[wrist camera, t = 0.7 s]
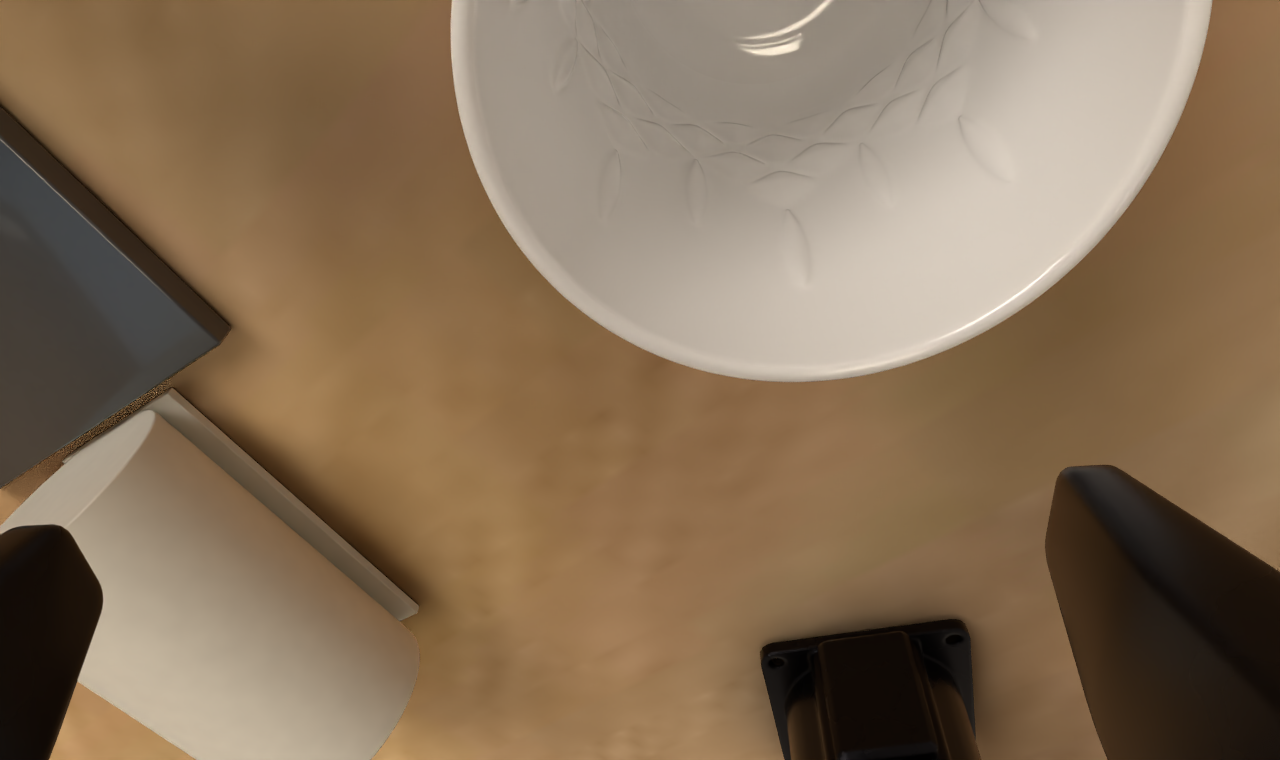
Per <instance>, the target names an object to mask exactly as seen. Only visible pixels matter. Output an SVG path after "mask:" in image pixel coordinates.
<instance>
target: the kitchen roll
mask: <svg viewBox="0 0 1280 760" xmlns="http://www.w3.org/2000/svg"><path fill="white" fill-rule="evenodd" d="M63 463H64V465H63V466H62V467H61V468H60V469H59V470H58V471H56V472H55V473H54V474H53V475H52V476H51V477H50V478H49V479H48V480H46V481H45V482H44V483H43V484H42V485H41V486H40V487H39V488H38V489H37V490H36V491H35V492H34V493H33V494H32V495H31V496H29V497H28V498H27V499H26V500H25V501H24V502H23V503H22V504H21V505H20V506H19V507H18V508H17V509H16V510H15V511H14V513H13V514H12V515H11V516H10V517H9V518H8V519H7V520H6V521H5V522H4V523H3V524H2V525H1V526H0V534H2V533H4V532H5V531H7V530H9V529H11V528H15V527H19V526H27V525H45V524H55V525H59V526H62V527H63V528H65V529H66V530H68V531H69V532H70V533H71V535H72V536H73V538H74V539H75V541H76V543H77V545H78V546H79V548H80V550H81V551H82V553H83V555H84V556H85V558H86V560H87V562H88V563H89V565H90V567H91V568H92V570H93V572H94V573H95V575H96V577H97V579H98V580H99V582H100V584H101V587H102V591H103V608H102V612H101V615H100V618H99V621H98V624H97V627H96V629H95V632H94V635H93V638H92V641H91V644H90V646H89V649H88V652H87V655H86V658H85V661H84V663H83V666H82V669H81V672H80V675H79V678H78V680H77V681H78V682H79V683H81V684H82V685H84V686H85V687H87V688H88V689H90V690H91V691H93V692H94V693H96V694H97V695H99V696H100V697H102V698H103V699H105V700H106V701H108V702H110V703H111V704H113V705H114V706H116V707H117V708H119V709H120V710H122V711H123V712H125V713H126V714H128V715H129V716H131V717H132V718H134V719H135V720H137V721H138V722H140V723H141V724H143V725H145V726H146V727H148V728H149V729H151V730H152V731H154V732H155V733H157V734H158V735H160V736H161V737H163V738H164V739H166V740H167V741H169V742H170V743H172V744H173V745H175V746H176V747H178V748H179V749H181V750H183V751H184V752H186V753H187V754H189V755H190V756H192V757H193V758H195V759H196V760H371V759H372V758H373V757H374V756H375V754H376V753H377V752H378V750H379V749H380V748H381V747H382V745H383V744H384V743H385V741H386V740H387V738H388V737H389V735H390V734H391V733H392V731H393V730H394V728H395V726H396V725H397V723H398V721H399V719H400V718H401V716H402V714H403V712H404V710H405V708H406V706H407V704H408V702H409V699H410V697H411V694H412V692H413V689H414V686H415V683H416V680H417V675H418V670H419V662H420V653H419V646H418V642H417V640H416V638H415V636H414V635H413V633H412V632H411V631H410V630H409V629H408V628H406V627H405V626H404V625H403V624H402V623H401V622H399V621H401V620H403V619H406V618H408V617H410V616H412V615H414V614H416V613H417V612H418V609H419V606H418V605H417V604H416V603H415V602H414V601H413V600H412V599H411V598H409V597H408V596H407V595H406V594H405V593H404V592H403V591H402V590H400V589H399V588H398V587H397V586H396V585H395V584H394V583H392V582H391V581H390V580H389V579H388V578H387V577H386V576H385V575H383V574H382V573H381V572H380V571H379V570H378V569H377V568H376V567H374V566H373V565H372V564H371V563H370V562H369V561H368V560H366V559H365V558H364V557H363V556H362V555H361V554H360V553H359V552H357V551H356V550H355V549H354V548H353V547H352V546H351V545H350V544H348V543H347V542H346V541H345V540H344V539H343V538H342V537H340V536H339V535H338V534H337V533H336V532H335V531H334V530H333V529H331V528H330V527H329V526H328V525H327V524H326V523H325V522H324V521H322V520H321V519H320V518H319V517H318V516H317V515H316V514H314V513H313V512H312V511H311V510H310V509H309V508H308V507H307V506H305V505H304V504H303V503H302V502H301V501H300V500H299V499H298V498H296V497H295V496H294V495H293V494H292V493H291V492H290V491H288V490H287V489H286V488H285V487H284V486H283V485H282V484H281V483H279V482H278V481H277V480H276V479H275V478H274V477H273V476H272V475H270V474H269V473H268V472H267V471H266V470H265V469H264V468H262V467H261V466H260V465H259V464H258V463H257V462H256V461H255V460H253V459H252V458H251V457H250V456H249V455H248V454H247V453H246V452H244V451H243V450H242V449H241V448H240V447H239V446H238V445H236V444H235V443H234V442H233V441H232V440H231V439H230V438H229V437H227V436H226V435H225V434H224V433H223V432H222V431H221V430H220V429H218V428H217V427H216V426H215V425H214V424H213V423H212V422H210V421H209V420H208V419H207V418H206V417H205V416H204V415H203V414H201V413H200V412H199V411H198V410H197V409H196V408H195V407H194V406H192V405H191V404H190V403H189V402H188V401H187V400H186V399H184V398H183V397H182V396H181V395H180V394H179V393H178V392H177V391H175V390H174V389H173V388H170V389H169V390H167V391H165V392H164V393H162V394H161V395H159V396H158V397H156V398H155V399H153V400H152V401H150V402H149V403H147V404H145V405H144V406H142V407H141V408H139V409H138V410H136V411H135V412H133V413H132V414H130V415H129V416H127V417H125V418H124V419H122V420H121V421H119V422H118V423H116V424H115V425H113V426H112V427H110V428H109V429H107V430H105V431H104V432H102V433H101V434H99V435H98V436H96V437H95V438H93V439H92V440H90V441H89V442H87V443H85V444H84V445H82V446H81V447H79V448H78V449H76V450H75V451H73V452H72V453H70V454H69V455H67V456H66V457H65V459H64V460H63Z"/></svg>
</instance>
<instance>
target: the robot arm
mask: <svg viewBox="0 0 1280 760" xmlns="http://www.w3.org/2000/svg"><path fill="white" fill-rule="evenodd" d="M1045 551H1046V559H1047V564H1048V568H1049V572H1050V575H1051V579H1052V582H1053V586H1054V589H1055V593H1056V596H1057V600H1058V603H1059V607H1060V610H1061V614H1062V617H1063V620H1064V624H1065V627H1066V631H1067V634H1068V638H1069V641H1070V645H1071V648H1072V652H1073V655H1074V659H1075V662H1076V666H1077V669H1078V673H1079V676H1080V680H1081V683H1082V687H1083V690H1084V694H1085V697H1086V700H1087V704H1088V707H1089V710H1090V713H1091V716H1092V720H1093V723H1094V726H1095V728H1096V731H1097V734H1098V736H1099V739H1100V741H1101V744H1102V747H1103V749H1104V752H1105V754H1106V757H1107V759H1108V760H1280V572H1279V571H1278V570H1276V569H1274V568H1273V567H1271V566H1270V565H1268V564H1267V563H1265V562H1264V561H1262V560H1260V559H1259V558H1257V557H1256V556H1254V555H1253V554H1251V553H1250V552H1248V551H1246V550H1245V549H1243V548H1242V547H1240V546H1239V545H1237V544H1236V543H1234V542H1233V541H1231V540H1229V539H1228V538H1226V537H1225V536H1223V535H1222V534H1220V533H1219V532H1217V531H1215V530H1214V529H1212V528H1211V527H1209V526H1208V525H1206V524H1205V523H1203V522H1201V521H1200V520H1198V519H1197V518H1195V517H1194V516H1192V515H1191V514H1189V513H1187V512H1186V511H1184V510H1183V509H1181V508H1180V507H1178V506H1177V505H1175V504H1173V503H1172V502H1170V501H1169V500H1167V499H1166V498H1164V497H1163V496H1161V495H1159V494H1158V493H1156V492H1155V491H1153V490H1152V489H1150V488H1149V487H1147V486H1145V485H1144V484H1142V483H1141V482H1139V481H1138V480H1136V479H1135V478H1133V477H1131V476H1130V475H1128V474H1127V473H1125V472H1124V471H1122V470H1120V469H1118V468H1117V467H1114V466H1111V465H1090V466H1073V467H1067V468H1065V469H1064V470H1062V471H1061V472H1060V474H1059V476H1058V478H1057V481H1056V485H1055V490H1054V495H1053V500H1052V506H1051V511H1050V516H1049V522H1048V527H1047V532H1046V539H1045ZM102 608H103V591H102V587H101V584H100V582H99V580H98V579H97V577H96V575H95V573H94V572H93V570H92V568H91V567H90V565H89V563H88V562H87V560H86V558H85V556H84V555H83V553H82V551H81V550H80V548H79V546H78V545H77V543H76V541H75V539H74V538H73V536H72V535H71V533H70V532H69V531H68V530H66V529H65V528H63V527H62V526H59V525H55V524H45V525H27V526H19V527H15V528H11V529H9V530H7V531H5V532H4V533H2V534H0V760H49V758H50V755H51V753H52V750H53V747H54V745H55V742H56V740H57V737H58V734H59V731H60V729H61V726H62V723H63V720H64V717H65V714H66V712H67V709H68V706H69V703H70V700H71V697H72V695H73V692H74V689H75V686H76V683H77V680H78V678H79V675H80V672H81V669H82V666H83V663H84V661H85V658H86V655H87V652H88V649H89V646H90V644H91V641H92V638H93V635H94V632H95V629H96V627H97V624H98V621H99V618H100V615H101V612H102ZM760 659H761V667H762V671H763V675H764V679H765V683H766V687H767V691H768V695H769V699H770V703H771V707H772V711H773V715H774V719H775V723H776V727H777V731H778V735H779V739H780V743H781V747H782V751H783V755H784V759H785V760H981V757H980V754H979V750H978V747H977V744H976V735H975V716H974V698H973V679H972V660H971V642H970V636H969V633H968V630H967V627H966V624H965V623H964V622H962V621H960V620H957V619H949V620H941V621H934V622H926V623H919V624H911V625H904V626H897V627H889V628H882V629H874V630H867V631H859V632H852V633H844V634H837V635H829V636H822V637H814V638H807V639H799V640H792V641H785V642H777V643H771V644H768V645H766V646H764V647H763V648H762V649H761V651H760Z"/></svg>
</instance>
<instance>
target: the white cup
mask: <svg viewBox="0 0 1280 760" xmlns="http://www.w3.org/2000/svg"><path fill="white" fill-rule="evenodd" d="M1212 1H1213V0H452V7H451V58H452V71H453V80H454V88H455V94H456V100H457V106H458V110H459V115H460V120H461V124H462V128H463V131H464V135H465V139H466V142H467V145H468V148H469V151H470V154H471V157H472V160H473V163H474V165H475V168H476V171H477V173H478V175H479V178H480V180H481V183H482V185H483V187H484V189H485V191H486V193H487V195H488V197H489V199H490V201H491V203H492V205H493V207H494V209H495V211H496V212H497V214H498V216H499V218H500V219H501V221H502V223H503V224H504V226H505V227H506V229H507V231H508V232H509V234H510V235H511V237H512V238H513V240H514V241H515V242H516V244H517V245H518V247H519V248H520V249H521V251H522V252H523V253H524V254H525V256H526V257H527V258H528V259H529V261H530V262H531V263H532V264H533V265H534V267H535V268H536V269H537V270H538V271H539V272H540V273H541V274H542V276H543V277H544V278H545V279H546V280H547V281H548V282H549V283H550V284H551V285H552V286H553V287H554V288H555V289H556V290H557V291H558V292H559V293H561V294H562V295H563V296H564V297H565V298H566V299H567V300H568V301H570V302H571V303H572V304H573V305H574V306H575V307H577V308H578V309H579V310H580V311H582V312H583V313H584V314H586V315H587V316H588V317H590V318H591V319H592V320H594V321H595V322H597V323H598V324H600V325H601V326H603V327H604V328H606V329H607V330H609V331H610V332H612V333H614V334H615V335H617V336H619V337H620V338H622V339H624V340H626V341H628V342H630V343H632V344H633V345H635V346H637V347H639V348H641V349H644V350H646V351H648V352H650V353H652V354H655V355H657V356H660V357H662V358H665V359H667V360H670V361H673V362H675V363H678V364H681V365H684V366H687V367H691V368H694V369H698V370H701V371H705V372H709V373H714V374H718V375H723V376H728V377H734V378H741V379H748V380H758V381H770V382H815V381H828V380H837V379H845V378H852V377H858V376H864V375H869V374H873V373H878V372H882V371H886V370H890V369H894V368H898V367H901V366H904V365H908V364H911V363H914V362H917V361H920V360H923V359H926V358H928V357H931V356H934V355H936V354H939V353H941V352H944V351H946V350H948V349H951V348H953V347H955V346H958V345H960V344H962V343H964V342H966V341H968V340H970V339H972V338H974V337H976V336H978V335H980V334H982V333H984V332H985V331H987V330H989V329H991V328H992V327H994V326H996V325H998V324H999V323H1001V322H1003V321H1004V320H1006V319H1008V318H1009V317H1011V316H1012V315H1014V314H1015V313H1017V312H1018V311H1020V310H1021V309H1023V308H1024V307H1026V306H1027V305H1028V304H1030V303H1031V302H1033V301H1034V300H1035V299H1037V298H1038V297H1039V296H1041V295H1042V294H1043V293H1045V292H1046V291H1047V290H1048V289H1050V288H1051V287H1052V286H1053V285H1054V284H1056V283H1057V282H1058V281H1059V280H1060V279H1062V278H1063V277H1064V276H1065V275H1066V274H1067V273H1068V272H1069V271H1071V270H1072V269H1073V268H1074V267H1075V266H1076V265H1077V264H1078V263H1079V262H1080V261H1081V260H1082V259H1083V258H1084V257H1085V256H1086V255H1087V254H1088V253H1089V252H1090V251H1091V250H1092V249H1093V248H1094V247H1095V246H1096V245H1097V244H1098V243H1099V242H1100V241H1101V239H1102V238H1103V237H1104V236H1105V235H1106V234H1107V233H1108V232H1109V230H1110V229H1111V228H1112V227H1113V226H1114V224H1115V223H1116V222H1117V221H1118V220H1119V218H1120V217H1121V216H1122V215H1123V213H1124V212H1125V211H1126V209H1127V208H1128V207H1129V205H1130V204H1131V203H1132V201H1133V200H1134V198H1135V197H1136V196H1137V194H1138V193H1139V191H1140V190H1141V188H1142V187H1143V185H1144V184H1145V182H1146V181H1147V179H1148V178H1149V176H1150V174H1151V173H1152V171H1153V169H1154V168H1155V166H1156V164H1157V163H1158V161H1159V159H1160V157H1161V156H1162V154H1163V152H1164V150H1165V148H1166V146H1167V144H1168V142H1169V140H1170V138H1171V136H1172V134H1173V132H1174V130H1175V128H1176V126H1177V124H1178V122H1179V119H1180V117H1181V115H1182V112H1183V110H1184V107H1185V105H1186V102H1187V100H1188V97H1189V95H1190V92H1191V89H1192V86H1193V83H1194V80H1195V77H1196V74H1197V71H1198V68H1199V64H1200V61H1201V57H1202V53H1203V49H1204V45H1205V41H1206V36H1207V31H1208V26H1209V21H1210V15H1211V8H1212Z"/></svg>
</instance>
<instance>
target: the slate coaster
mask: <svg viewBox="0 0 1280 760" xmlns="http://www.w3.org/2000/svg"><path fill="white" fill-rule="evenodd" d="M230 330H231V327H230V326H229V325H228V324H227V323H226V322H225V321H224V320H223V319H222V318H221V317H220V316H219V315H218V314H217V313H216V312H215V311H214V310H213V309H212V308H210V307H209V306H208V305H207V304H206V303H205V302H204V301H203V300H202V299H201V298H200V297H199V296H198V295H197V294H196V293H195V292H194V291H193V290H192V289H191V288H190V287H189V286H188V285H187V284H185V283H184V282H183V281H182V280H181V279H180V278H179V277H178V276H177V275H176V274H175V273H174V272H173V271H172V270H171V269H170V268H169V267H168V266H167V265H166V264H165V263H164V262H163V261H161V260H160V259H159V258H158V257H157V256H156V255H155V254H154V253H153V252H152V251H151V250H150V249H149V248H148V247H147V246H146V245H145V244H144V243H143V242H142V241H141V240H140V239H139V238H138V237H136V236H135V235H134V234H133V233H132V232H131V231H130V230H129V229H128V228H127V227H126V226H125V225H124V224H123V223H122V222H121V221H120V220H119V219H118V218H117V217H116V216H115V215H114V214H112V213H111V212H110V211H109V210H108V209H107V208H106V207H105V206H104V205H103V204H102V203H101V202H100V201H99V200H98V199H97V198H96V197H95V196H94V195H93V194H92V193H91V192H90V191H89V190H87V189H86V188H85V187H84V186H83V185H82V184H81V183H80V182H79V181H78V180H77V179H76V178H75V177H74V176H73V175H72V174H71V173H70V172H69V171H68V170H67V169H66V168H65V167H63V166H62V165H61V164H60V163H59V162H58V161H57V160H56V159H55V158H54V157H53V156H52V155H51V154H50V153H49V152H48V151H47V150H46V149H45V148H44V147H43V146H42V145H41V144H39V143H38V142H37V141H36V140H35V139H34V138H33V137H32V136H31V135H30V134H29V133H28V132H27V131H26V130H25V129H24V128H23V127H22V126H21V125H20V124H19V123H18V122H17V121H16V120H14V119H13V118H12V117H11V116H10V115H9V114H8V113H7V112H6V111H5V110H4V109H3V108H2V107H1V106H0V489H1V488H2V487H4V486H5V485H7V484H9V483H10V482H12V481H13V480H15V479H16V478H18V477H19V476H21V475H22V474H24V473H25V472H27V471H28V470H30V469H31V468H33V467H34V466H36V465H37V464H39V463H41V462H42V461H44V460H45V459H47V458H48V457H50V456H51V455H53V454H54V453H56V452H57V451H59V450H60V449H62V448H63V447H65V446H66V445H68V444H70V443H71V442H73V441H74V440H76V439H77V438H79V437H80V436H82V435H83V434H85V433H86V432H88V431H89V430H91V429H92V428H94V427H95V426H97V425H98V424H100V423H102V422H103V421H105V420H106V419H108V418H109V417H111V416H112V415H114V414H115V413H117V412H118V411H120V410H121V409H123V408H124V407H126V406H127V405H129V404H131V403H132V402H134V401H135V400H137V399H138V398H140V397H141V396H143V395H144V394H146V393H147V392H149V391H150V390H152V389H153V388H155V387H156V386H158V385H159V384H161V383H163V382H164V381H166V380H167V379H169V378H170V377H172V376H173V375H175V374H176V373H178V372H179V371H181V370H182V369H184V368H185V367H187V366H188V365H190V364H192V363H193V362H195V361H196V360H198V359H199V358H201V357H202V356H204V355H205V354H207V353H208V352H210V351H211V350H213V349H214V348H216V347H217V346H219V345H220V344H221V343H222V342H223V340H224V339H225V338H226V336H227V335H228V333H229V332H230Z"/></svg>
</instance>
